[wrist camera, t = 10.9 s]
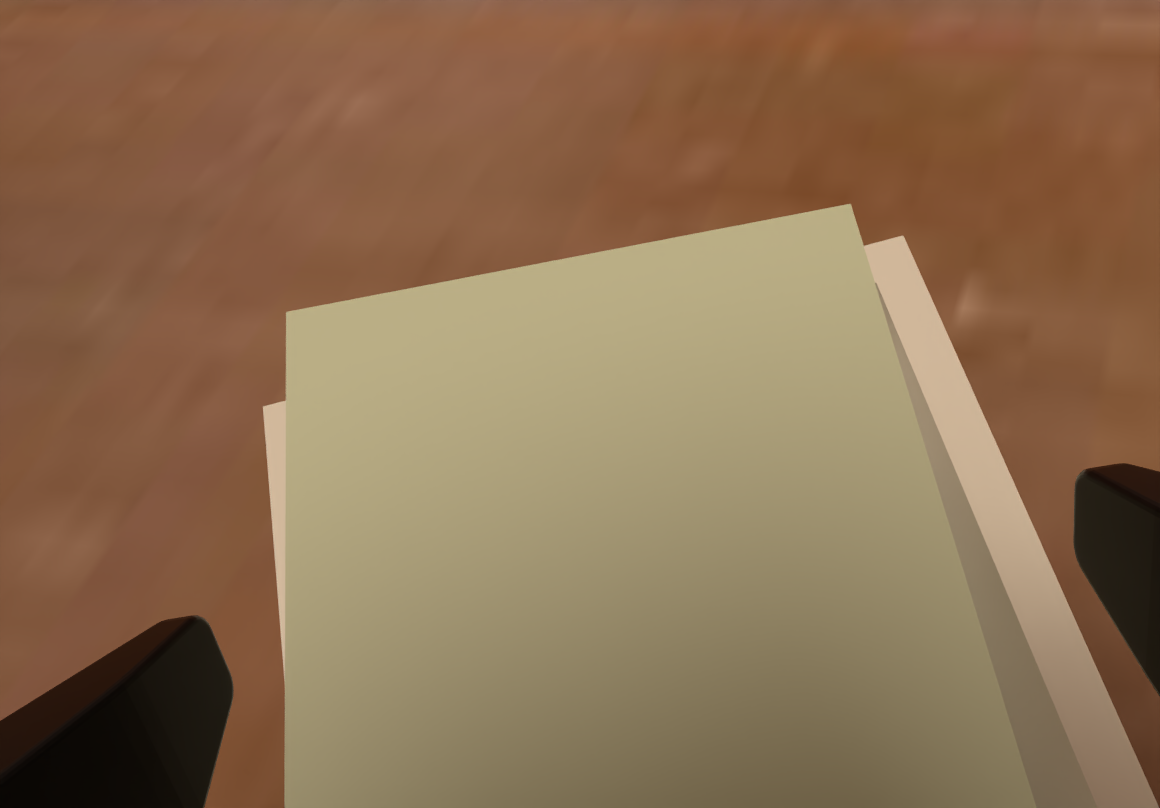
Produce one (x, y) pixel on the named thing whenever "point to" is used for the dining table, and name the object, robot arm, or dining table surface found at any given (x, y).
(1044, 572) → the box
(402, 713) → the pale green tall block
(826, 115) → the dining table surface
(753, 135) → the dining table surface
